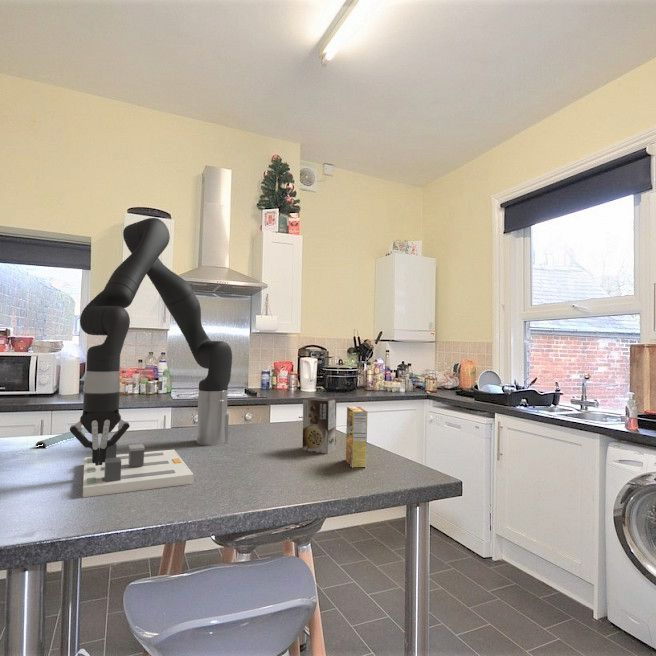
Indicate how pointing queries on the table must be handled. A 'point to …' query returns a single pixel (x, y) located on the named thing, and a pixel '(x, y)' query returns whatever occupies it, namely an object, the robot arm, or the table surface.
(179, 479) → the breaker panel
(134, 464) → the block
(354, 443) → the candy box
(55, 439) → the aluminum foil
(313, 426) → the cookie box
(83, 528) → the table surface
